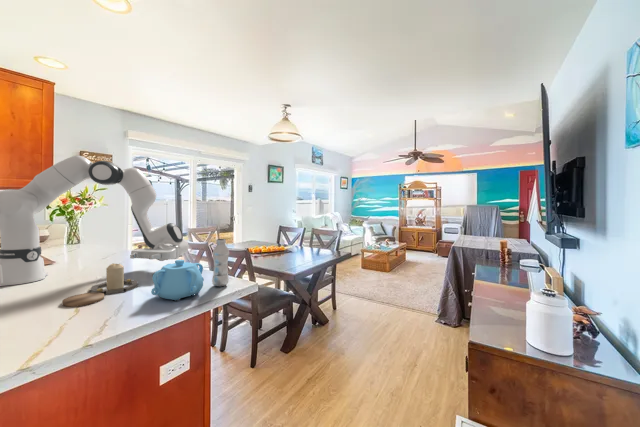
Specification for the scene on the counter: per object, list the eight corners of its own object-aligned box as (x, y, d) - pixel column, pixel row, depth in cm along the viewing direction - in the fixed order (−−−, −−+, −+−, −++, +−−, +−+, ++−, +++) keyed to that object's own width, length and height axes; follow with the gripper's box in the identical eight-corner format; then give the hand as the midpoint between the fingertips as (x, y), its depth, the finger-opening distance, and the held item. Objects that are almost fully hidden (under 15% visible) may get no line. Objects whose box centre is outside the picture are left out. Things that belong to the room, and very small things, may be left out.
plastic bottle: (211, 284, 115) (212, 238, 115) (228, 282, 118) (228, 238, 117) (212, 289, 109) (212, 240, 109) (229, 287, 112) (230, 240, 112)
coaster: (53, 305, 89) (53, 302, 89) (86, 294, 100) (86, 291, 100) (81, 308, 87) (81, 304, 87) (112, 296, 98) (112, 293, 98)
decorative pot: (166, 289, 108) (166, 256, 108) (207, 288, 110) (207, 255, 110) (145, 304, 92) (145, 265, 92) (194, 302, 94) (194, 264, 94)
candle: (127, 286, 110) (127, 262, 110) (115, 290, 105) (115, 265, 104) (114, 285, 111) (114, 262, 110) (102, 290, 105) (102, 265, 105)
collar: (80, 292, 101) (80, 288, 101) (115, 281, 116) (115, 277, 116) (114, 295, 99) (114, 291, 99) (146, 284, 114) (146, 279, 114)
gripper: (144, 244, 134) (120, 249, 121) (181, 246, 131) (160, 251, 118) (144, 257, 135) (120, 263, 121) (181, 258, 132) (161, 265, 118)
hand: (140, 257), depth 119 cm, fingers open, 8 cm apart
